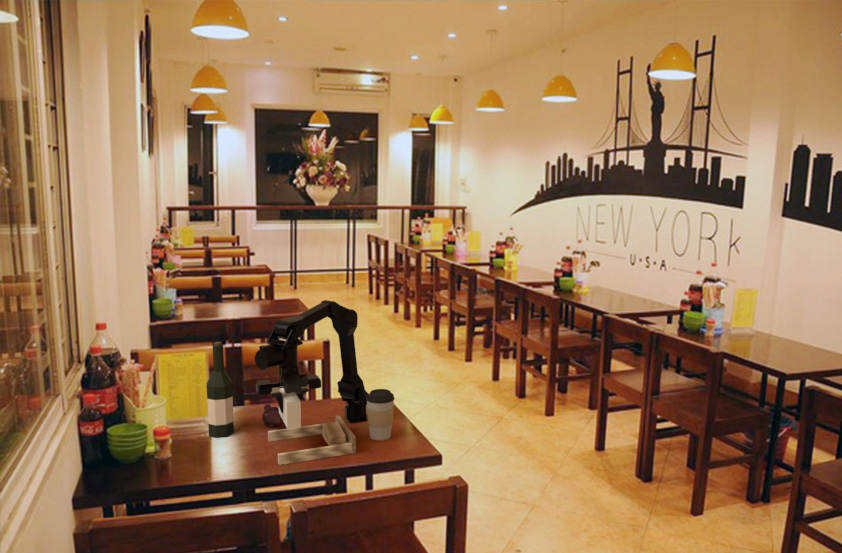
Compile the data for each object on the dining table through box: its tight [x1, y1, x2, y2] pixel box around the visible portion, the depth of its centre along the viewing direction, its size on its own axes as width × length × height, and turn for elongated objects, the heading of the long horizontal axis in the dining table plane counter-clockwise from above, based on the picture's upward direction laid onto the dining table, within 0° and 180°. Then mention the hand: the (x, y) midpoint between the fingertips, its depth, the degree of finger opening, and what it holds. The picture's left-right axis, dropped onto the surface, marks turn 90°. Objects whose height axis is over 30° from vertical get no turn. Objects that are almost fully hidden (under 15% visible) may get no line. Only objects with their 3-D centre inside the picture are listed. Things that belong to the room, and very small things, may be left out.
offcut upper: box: [322, 421, 346, 446], centre depth 199 cm, size 5×12×2 cm, turn 18°
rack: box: [267, 415, 357, 466], centre depth 196 cm, size 23×19×5 cm
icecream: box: [261, 403, 284, 429], centre depth 212 cm, size 7×7×15 cm
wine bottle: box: [206, 341, 235, 439], centre depth 205 cm, size 8×8×30 cm
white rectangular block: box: [278, 388, 302, 429], centre depth 193 cm, size 4×14×8 cm, turn 22°
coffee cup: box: [366, 388, 395, 441], centre depth 204 cm, size 9×9×15 cm
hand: (289, 411), depth 193 cm, fingers closed on white rectangular block, 4 cm apart
